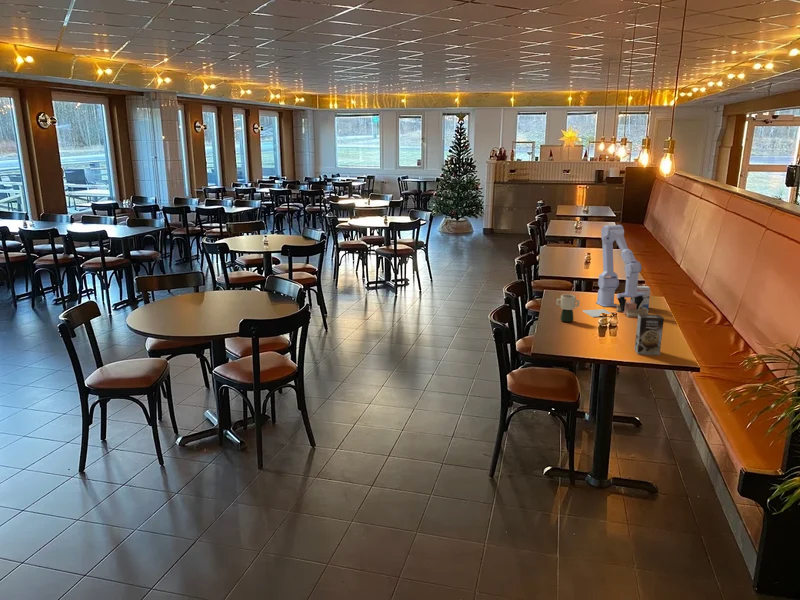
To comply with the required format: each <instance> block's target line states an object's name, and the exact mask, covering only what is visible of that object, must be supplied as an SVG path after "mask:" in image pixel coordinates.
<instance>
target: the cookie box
mask: <svg viewBox="0 0 800 600" xmlns="http://www.w3.org/2000/svg"><path fill="white" fill-rule="evenodd" d="M664 321H665V320H664V317H663V316H662V315H660V314H649V313H648V314H638V317H637V322H636V323H637V324H636V332H635V333H636V334H635V342H634V351H635V353H636V354H637V355H643V356H644V355H647V356H660V355H661V348H662V339H663V338H662V337H663V332H664V331H663V329H664Z"/></svg>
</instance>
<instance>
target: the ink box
mask: <svg viewBox="0 0 800 600" xmlns="http://www.w3.org/2000/svg"><path fill="white" fill-rule="evenodd" d="M637 292H638V293H645V296H644V297H643V298H644V299H643V301H642V302H641V304H640V306H642V307H644V308H646V309H648V310H649V309H650V308H649V306H650V305H649V304H650V294H651V288H650V286H647V285H646V286H645V285H637ZM630 301H631V302H633V303H635V299H634V297H630Z"/></svg>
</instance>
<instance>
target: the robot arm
mask: <svg viewBox="0 0 800 600" xmlns="http://www.w3.org/2000/svg"><path fill="white" fill-rule="evenodd" d="M624 229H625V228H624V226H623V225H622V224H614V225H613V224H612V225H611V224H610V225H609V224H606V225H604V226H603V227H602V229H600V230H601V232H600V233H601V241H602V268H603V269H602V270H603V271H602V272H601V273H600V274H599V275H598V281H597V285H598V287H599V289H598V290H597V296H596V297H597V298H596V299H597V300H596V301H595V303H596V304H597V305H600V306H602V307H605V308H606V307H617V305H618V304H616V303H615V294H616V299H617V301H618V303H619V305H620V307H621V311H623V312H624V310H625V303H626V301H627V299H626V298H631V297H634V299H635V304H637V306H636V309H638V308H639V306H640V304H641V302H642V301H643V299H644V298H643V297H644V296H645V293H638V292H637V286H639V284H638V283H639V273H641V271H642V270H643V269H642V263H641V262H640V261H638V259H636V257H635V255H634V252H633V251H632V250H631V249H629V247H628V244H627V241H626V238H625V236H624V235H625V230H624ZM614 242H616V245H617V246H618V248H619V250H620V251H621V253H620V256H621V259H622V261H623V263H624V272H625V273H624V274H625V289H624V292H621V293H615V292H616V290H617V288H618V287H619V284H620V281H619V278H618V274H617V273H616V272H615V271H614V268H615V267H614V247H613V246H614V245H613V243H614Z"/></svg>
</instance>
